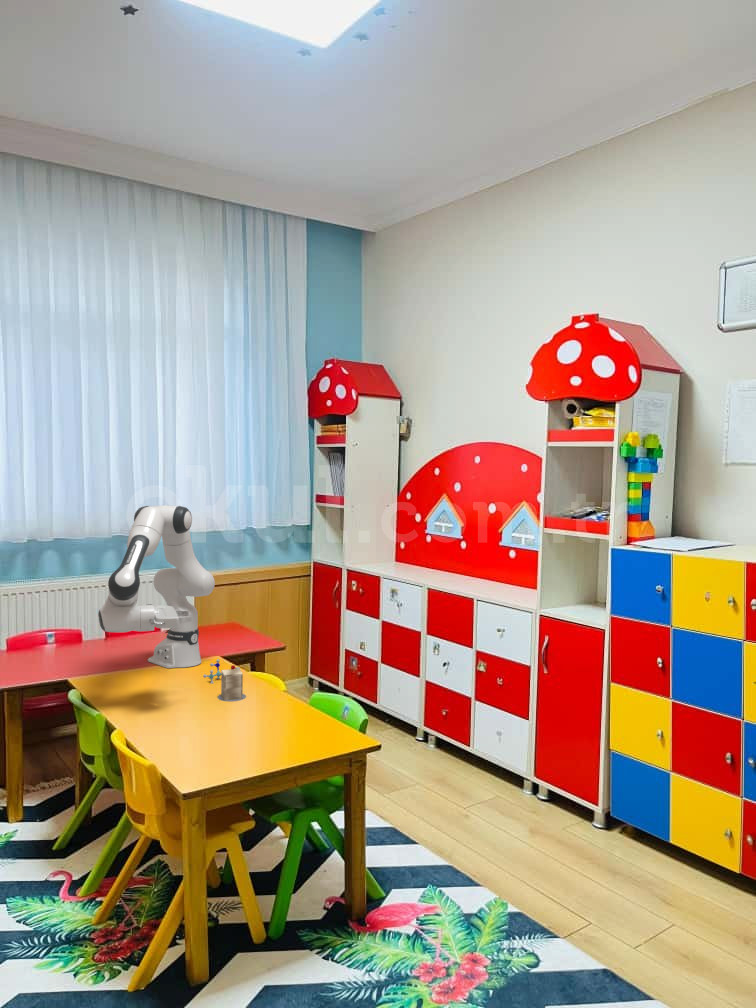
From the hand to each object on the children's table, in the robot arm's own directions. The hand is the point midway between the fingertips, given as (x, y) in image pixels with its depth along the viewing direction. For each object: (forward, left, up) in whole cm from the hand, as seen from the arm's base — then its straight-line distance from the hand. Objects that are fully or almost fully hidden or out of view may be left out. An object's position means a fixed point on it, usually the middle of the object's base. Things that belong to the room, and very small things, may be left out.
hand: (189, 615), depth 274 cm
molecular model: (-6, +22, -30) cm, 38 cm away
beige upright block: (+11, +9, -29) cm, 33 cm away
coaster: (+11, +9, -30) cm, 33 cm away
